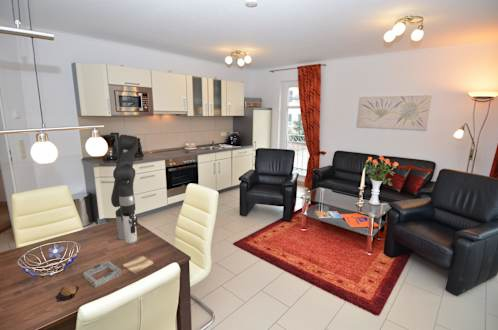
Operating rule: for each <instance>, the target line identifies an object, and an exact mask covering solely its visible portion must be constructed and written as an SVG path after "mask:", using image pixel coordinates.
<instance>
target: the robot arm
mask: <svg viewBox="0 0 498 330" xmlns="http://www.w3.org/2000/svg"><path fill="white" fill-rule="evenodd" d="M138 145H139V138H138V137H137V136H135V135H127V134H120V135H119V137H118V145H117V160H116V166H115V168H114V169H113V173H112V176H113V179H114V181H113V187H112V193H111V195H110V197H111V198H110V202H111V205H112V206H113V207H115V208H118V209H116V211H115V220H116V232H117V239H118V240H121V241H125V235H124V225H123V216H122V213H129V219H131V218H132V219H131V220H132V221H131V222H130V221H129V220H128V223H129V224H130V228H131V233H135V226H136V227H137V226H138V216H137V215H135V216H134V214H133V212H134V211H136V199H135V195H134V194H135V193H134V181H135V178H136V170H135V168H134V159H135V156H136V152H137V150H138ZM124 150H125V151H124ZM131 223H132V224H131Z"/></svg>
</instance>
